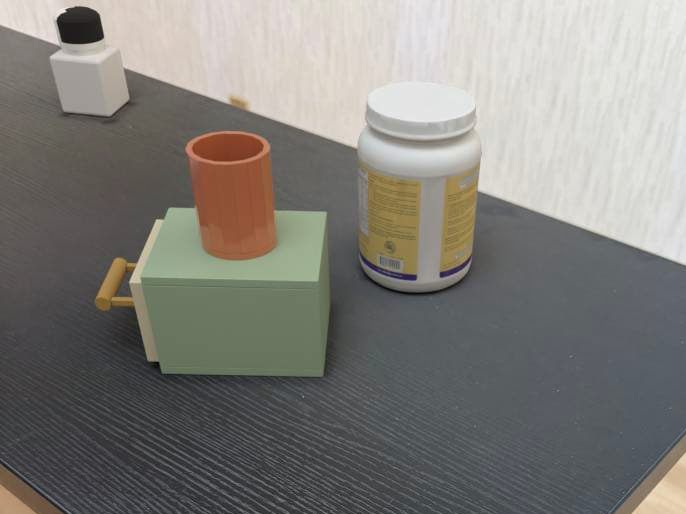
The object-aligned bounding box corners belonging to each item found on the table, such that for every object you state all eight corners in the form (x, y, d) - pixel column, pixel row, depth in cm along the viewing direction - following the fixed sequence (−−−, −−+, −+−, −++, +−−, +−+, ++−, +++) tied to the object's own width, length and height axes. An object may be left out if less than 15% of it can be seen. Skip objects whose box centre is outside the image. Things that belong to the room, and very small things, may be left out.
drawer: (100, 360, 72) (77, 281, 67) (128, 294, 80) (110, 217, 75) (297, 364, 73) (291, 286, 67) (306, 298, 81) (302, 223, 75)
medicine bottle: (130, 100, 118) (111, 4, 109) (110, 117, 113) (88, 19, 104) (84, 95, 119) (62, 0, 110) (62, 112, 114) (36, 14, 105)
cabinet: (161, 374, 73) (139, 276, 66) (186, 300, 81) (168, 207, 74) (323, 377, 73) (318, 280, 66) (330, 303, 82) (326, 211, 75)
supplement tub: (449, 235, 93) (461, 73, 80) (487, 289, 85) (506, 119, 72) (346, 247, 90) (342, 81, 78) (375, 303, 82) (375, 129, 70)
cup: (195, 259, 68) (178, 162, 62) (207, 223, 73) (193, 129, 67) (273, 261, 68) (264, 165, 62) (281, 225, 73) (273, 132, 67)
